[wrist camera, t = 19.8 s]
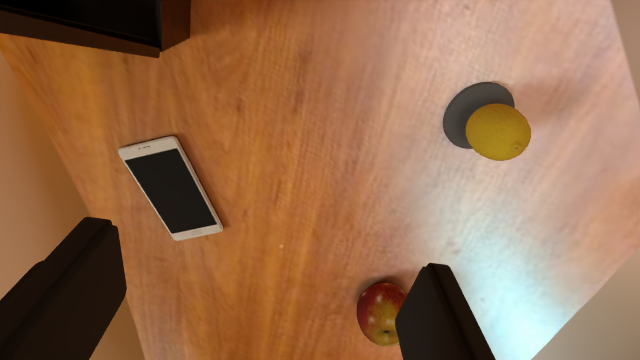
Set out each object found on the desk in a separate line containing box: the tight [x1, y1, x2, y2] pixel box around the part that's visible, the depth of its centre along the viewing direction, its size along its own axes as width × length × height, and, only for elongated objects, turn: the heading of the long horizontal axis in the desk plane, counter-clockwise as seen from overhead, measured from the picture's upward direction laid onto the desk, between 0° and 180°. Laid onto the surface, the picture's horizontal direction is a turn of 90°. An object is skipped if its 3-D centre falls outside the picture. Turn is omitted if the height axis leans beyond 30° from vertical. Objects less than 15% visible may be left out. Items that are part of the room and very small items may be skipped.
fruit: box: [357, 283, 408, 346], centre depth 51 cm, size 10×9×8 cm
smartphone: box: [118, 136, 223, 241], centre depth 42 cm, size 8×1×15 cm
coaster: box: [443, 82, 515, 149], centre depth 38 cm, size 8×8×1 cm
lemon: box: [466, 103, 531, 161], centre depth 34 cm, size 6×6×8 cm
